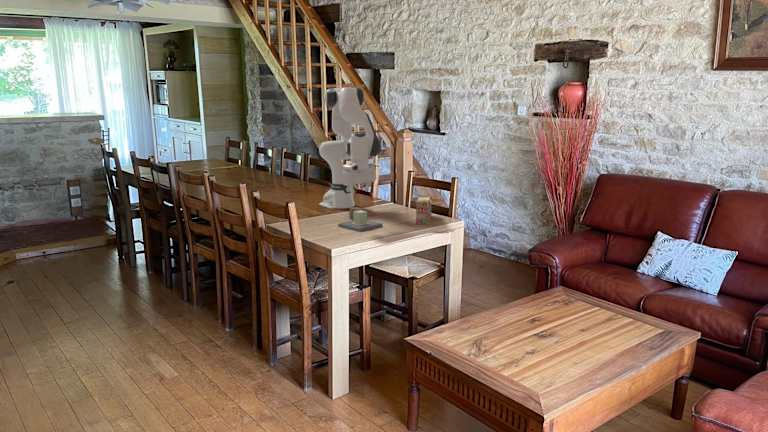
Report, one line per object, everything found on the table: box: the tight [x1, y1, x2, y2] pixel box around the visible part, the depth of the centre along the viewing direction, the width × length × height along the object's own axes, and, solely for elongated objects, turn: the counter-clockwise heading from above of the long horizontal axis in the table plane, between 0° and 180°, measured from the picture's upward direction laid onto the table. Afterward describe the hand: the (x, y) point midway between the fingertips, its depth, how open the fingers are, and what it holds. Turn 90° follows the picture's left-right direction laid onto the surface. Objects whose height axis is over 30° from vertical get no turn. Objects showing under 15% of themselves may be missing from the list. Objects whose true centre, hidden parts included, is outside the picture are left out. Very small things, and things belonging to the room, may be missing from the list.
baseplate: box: [337, 219, 383, 232], centre depth 314 cm, size 16×16×2 cm
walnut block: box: [349, 206, 364, 221], centre depth 330 cm, size 5×5×6 cm
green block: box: [353, 210, 368, 225], centre depth 313 cm, size 5×5×6 cm
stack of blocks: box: [415, 196, 432, 226], centre depth 326 cm, size 21×6×12 cm, turn 171°
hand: (359, 192), depth 310 cm, fingers open, 8 cm apart
